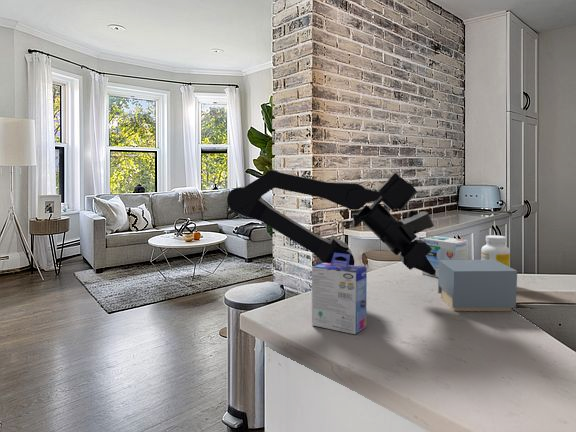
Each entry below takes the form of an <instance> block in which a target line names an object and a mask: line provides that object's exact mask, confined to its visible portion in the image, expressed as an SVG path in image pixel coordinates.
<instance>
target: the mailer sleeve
mask: <svg viewBox="0 0 576 432" xmlns="http://www.w3.org/2000/svg"><path fill="white" fill-rule="evenodd" d="M517 285H518V270H516V269H515V268H512V267H510V266H509V267H508V266H506V265H504V264H502V263H500V262H498V261H496V260H481V259H468V260H439V267H438V278H437V294H441V288H442V289H443V290H444V291H445V292H447V293H448V294H449V295H450V296H451V297H452V298H453V299H452V307H453V308H511V309H514V308H515V309H516V308H517Z"/></svg>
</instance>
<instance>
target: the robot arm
mask: <svg viewBox="0 0 576 432" xmlns="http://www.w3.org/2000/svg"><path fill="white" fill-rule="evenodd" d="M273 189H278V190H284V191H288V192H293V193H297V194H298V193H299V194H303V195H307V196H312V197H315V198H321V199H325V200H327V201H330V202H332V203H334V204H336V205H339V206H341V207H344V208H346V209H348V210H351V211H357V210H360V209H361V210H360V211H359V212H358V213H352V214H351V216H352V225H353V226H354V228H355V227H358V226H359V225H360V224H361V223H363V225H365V226H366V227H367V228H368V229H369V230H370V231H371V232H372V233H373V234H374V235H375V236H376V237H377V238H378V239H379V240H380V241H381V242H382V243H383V244H384V245H386V246H387V248H388V249H389V250H390V251H391V252H392V254H394V255H395V256H398V255H399V260H400V262H401V263H403V265H404V266H405V267H406V268H407V269H409V271H411V270H413V269H415V270H420V271H421V272H422V271H424V272H426V273H429V274H431V275H433V274H434V273H435V272H436V271H435V269H434V268H433V266H432V265H431V263H430V262H429V260H428V259H427V257H426V255H427V254H428V253H429V252H430V251H431V249H432V248H431V247H430V246H429V245H428V244H426V243H425V242H424V241H423V239H416V238H417V237H418V235H416V234H419V233H421V232H423V231H425V230H427V229H431V228H433V227H435V226H434V225H435V224H434V222H433V220H432V218H431V215H430V214H429V212H427V211H425V210H424V211H419V212H418V211H416V210H415V209H411V210H409V211H407V213H406V218H405V219H404V220H399V219H398V218H396V217H394V215H392V214H391V213H390V212H389V210H390V211H392V212H394V210H395V211H397V210H398V211H399V212H400V211H401V210H402V209H403V208H404V207H405V206H406V205H407V204H408V203H409V202H410V201H411V200H412V199H413V198H414V197H415V196H416V195H417V194H418V190H417V189H416V188H415V187H414V186H413V185H412V184H411V183H410V182H408V181H406V180H405V179H404V178H403V177H401V176H400V175H398V173H395V172H393V173H392V174H391V175H390V176H389V177H388V179H386V181H385V182H384V183H383V184H381V186H380V187H379V189H375V188H371V189H370V188H369V189H368V188H365V186H364V185H361V184H358V183H356V182H339V181H337V182H336V181H335V182H334V181H332V182H331V181H323V180H319V179H315V178H314V179H313V178H309V177H304V176H299V175H295V174H290V173H285V172H281V171H278V170H275V169H270V170H268V171H266V172H265V173H264V174H263V175H262V176H260V177H259V178H257V179H255V180H253V181H252V182H250V183H249V184H247V185H245V186H244V185H243V186H239V187H235V188H233V189H232V190H231V191H230V192H229V193H228V195H227V198H226V203H227V206H228V208H229V209H230V211H232V212H234V213H236V214H239V215H241V216H244V217H246V218H249V219H253V220H256V221H259V222H262V223H263V224H265V225H267V226H268V227H270V228H271V229H273V230H275V231H277V232H278V233H280V234H281V235H283V236H285V237H286V238H288V239H290V240H291V241H293V242H294V243H296V244H298V245H299V246H301V247H303V248H304V249H305V250H308V251H309V252H311V253H312V254H314V255H315V256H316V258H317V259H319V261H320V263H331V262H332V258H333V255H334V253H343V254H350V260H349V265H354V266H355V263H356V262H355V257H354V255H353V253H352V251H351V249H350V247H349V246H348V243H347V242H343V241H341V240H339V239H338V238H337V237H336V236H334V234H332V235H331V236H330V239H327V238H325V237H321V236H320V235H319V234H316V233H314V232H313V231H311V230H310V229H308V228H306V227H305V226H303V225H302V224H300V223H299V222H296V221H295V220H293V219H292V218H290V217H289V216H287V215H285V214H284V213H282V212H280V211H279V210H278V209H275V208H273V207H272V206H270V204H269V203H267V201H266V200H265V199H264V198H263V197H262V196H264V195H266V194H268V193H269V192H270V191H272V190H273ZM368 203H372V204H371V205H367V204H368ZM381 203H383V205H385V206H386V207H387V208H388V209H389V210H387V209H386V208H385V207H384V206H383V205H382V204H381ZM335 260H340V261H346V260H347V259H346V258H344V257H336V258H335Z"/></svg>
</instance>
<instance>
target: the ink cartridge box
mask: <svg viewBox="0 0 576 432" xmlns="http://www.w3.org/2000/svg"><path fill="white" fill-rule="evenodd" d="M336 257H344V258H346V259H347V260H346V261H340V260H335V258H336ZM349 260H350V254H343V253H334V255H333V258H332V262H331V263H322V262H320V263H318V264H316V265H313V266H311V325H312V326H313V327H314V326H315V327H319V328H324V329H328V330H333V331H338V332H341V333H347V334H351V335H357V334H358V333H359V332H361V331H362V330H364V329H365V328H367V322H368V321H367V297H368V296H367V287H368V286H367V285H368V283H367V281H368V280H367V279H368V278H367V275H368V273H367V272H368V271H367V269H368V268H367V266H363V265H355V264H354V265H349Z"/></svg>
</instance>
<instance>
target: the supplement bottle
mask: <svg viewBox="0 0 576 432" xmlns="http://www.w3.org/2000/svg"><path fill="white" fill-rule="evenodd" d="M485 242H486V244H484V245H483V246H482V247H481V249H480V250H481V252H480V260H496V261H498V262H500V263H502V264H504V265H506V266H508V267H510V264H511V263H510V262H511V261H510V258H511V257H510V256H511V255H510V253H511V252H510V251H511V250H510V248H509V247H508V246H506V245H505V244H506V242H507V237H506V236H505V235H498V234H497V235H493V234H492V235H490V234H489V235H485Z"/></svg>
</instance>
